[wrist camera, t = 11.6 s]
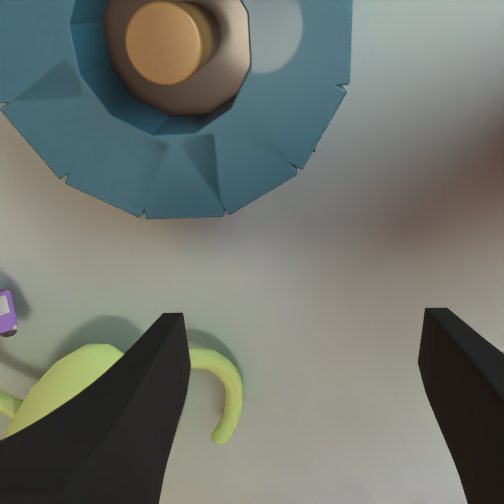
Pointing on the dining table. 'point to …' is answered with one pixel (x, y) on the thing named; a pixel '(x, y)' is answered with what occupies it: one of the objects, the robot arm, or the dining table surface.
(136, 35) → the peg stand
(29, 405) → the figurine
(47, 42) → the ring
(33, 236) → the dining table surface
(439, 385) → the robot arm
